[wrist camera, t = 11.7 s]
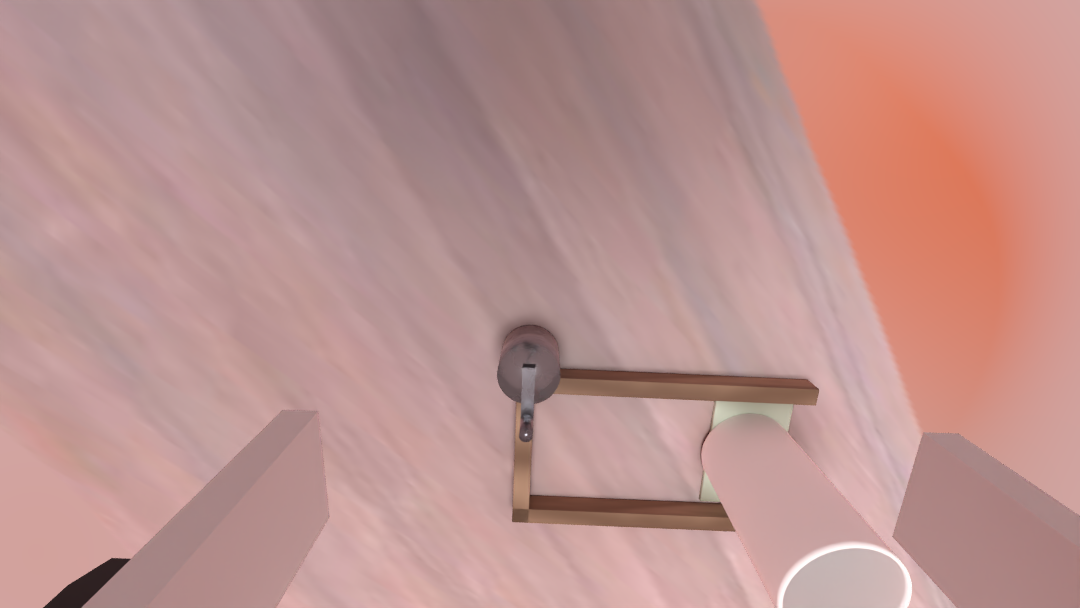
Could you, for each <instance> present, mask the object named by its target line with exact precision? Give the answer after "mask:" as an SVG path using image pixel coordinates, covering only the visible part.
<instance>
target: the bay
mask: <svg viewBox="0 0 1080 608" xmlns="http://www.w3.org/2000/svg"><path fill="white" fill-rule="evenodd" d="M818 393H819V389H818V388H817V387H815V386H814V385H813V384H812V383H811V382H810V381H808V380H803V379H780V378H758V377H736V376H713V375H691V374H668V373H646V372H624V371H601V370H579V369H560V382H559V385H558V387H557V389H556V391H555V392H554V393H553V394H570V395H592V396H615V397H638V398H660V399H683V400H705V401H715V402H714V408H713V415H712V421H711V427H710V432H711V431H712V430H713V429H714V428H715V427H716V426H717V425H718V424H720V423H721V422H723V421H724V420H726V419H728V418H730V417H733V416H736V415H740V414H760V415H764V416H767V417H770V418H772V419H774V420H775V421H777V422H778V423H779V424H780V425H781V426H782V427H783V428H784V429H785V430H786V431H787V433H788V429H789V424H790V419H791V414H792V410H793V405H794V404H796V405H816V402H817V398H818ZM520 419H521V403H519V402H516V430H515V459H514V487H513V515H512V522H524V523H548V524H571V525H595V526H618V527H642V528H665V529H689V530H712V531H735V529H734V527H733V525H732V523H731V521H730V519H729V517H728V515H727V513H726V511H725V509H724V507H723V505H722V504H720V503H697V502H673V501H650V500H627V499H604V498H580V497H557V496H534V495H529V493H530V472H531V450H532V439H531V441H529V442H522V441H521V440H520V438H519V431H520ZM699 499H700V501H713V502H721V501H720V499H719V498H718V496H717V494H716V492H715V490H714V488H713V486H712V484H711V482H710V480H709V478H708V476H707V474H706V472H705V470H703V477H702V483H701V489H700V495H699Z"/></svg>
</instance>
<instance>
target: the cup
mask: <svg viewBox="0 0 1080 608" xmlns="http://www.w3.org/2000/svg"><path fill="white" fill-rule="evenodd" d="M701 460H702V465H703V468H704V470H705V472H706V474H707V476H708V478H709V480H710V482H711V484H712V486H713V488H714V490H715V492H716V494H717V496H718V498H719V499H720V501H721V503H722V505H723V507H724V509H725V511H726V513H727V515H728V517H729V519H730V521H731V523H732V525H733V527H734V529H735V531H736V533H737V534H738V536H739V538H740V540H741V542H742V544H743V546H744V548H745V550H746V552H747V554H748V556H749V558H750V560H751V562H752V564H753V566H754V568H755V569H756V571H757V573H758V575H759V577H760V579H761V581H762V583H763V585H764V587H765V589H766V591H767V593H768V595H769V597H770V599H771V601H772V602H773V604H774V606H775V608H907V607H908V605H909V602H910V599H911V594H912V583H911V578H910V575H909V573H908V571H907V569H906V568H905V566H904V565H903V563H902V562H901V561H900V559H899V558H898V557H897V556H896V555H895V553H894V552H893V551H892V550H891V549H890V548H889V547H888V546H887V544H886V543H885V542H884V541H883V540H882V539H881V538H880V536H879V535H878V534H877V533H876V532H875V531H874V530H873V529H872V527H871V526H870V525H869V524H868V523H867V522H866V521H865V519H864V518H863V517H862V516H861V515H860V514H859V513H858V512H857V510H856V509H855V508H854V507H853V506H852V505H851V504H850V503H849V501H848V500H847V499H846V498H845V497H844V496H843V495H842V494H841V492H840V491H839V490H838V489H837V488H836V487H835V486H834V484H833V483H832V482H831V481H830V480H829V479H828V478H827V477H826V475H825V474H824V473H823V472H822V471H821V470H820V469H819V468H818V466H817V465H816V464H815V463H814V462H813V461H812V460H811V459H810V457H809V456H808V455H807V454H806V453H805V452H804V451H803V450H802V448H801V447H800V446H799V445H798V444H797V443H796V442H795V440H794V439H793V438H792V437H791V436H790V435H789V434H788V433H787V431H786V430H785V429H784V428H783V427H782V426H781V425H780V424H779V423H778V422H777V421H775V420H774V419H772V418H770V417H767V416H764V415H760V414H740V415H736V416H733V417H730V418H728V419H726V420H724V421H723V422H721V423H720V424H718V425H717V426H716V427H715V428H714V429H713V430H712V431H711V432H710V433H709V435H708V436H707V438H706V439H705V442H704V444H703V447H702V452H701Z"/></svg>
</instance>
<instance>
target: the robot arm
mask: <svg viewBox="0 0 1080 608" xmlns="http://www.w3.org/2000/svg"><path fill="white" fill-rule="evenodd" d="M329 517H330V516H329V507H328V498H327V488H326V479H325V469H324V460H323V451H322V441H321V432H320V422H319V413H318V411H301V410H282V411H281V412H280V413H279V414H278V415H277V416H276V417H275V418H274V419H273V420H272V421H271V422H270V423H269V424H268V425H267V426H266V427H265V428H264V429H263V430H262V431H261V432H260V433H259V434H258V435H257V436H256V437H255V438H254V439H253V440H252V441H251V442H250V443H249V444H248V445H247V446H246V447H245V448H244V449H243V450H241V451H240V452H239V453H238V454H237V455H236V456H235V457H234V458H233V459H232V460H231V461H230V462H229V463H228V464H227V465H226V466H225V467H224V468H223V469H222V470H221V471H220V472H219V473H218V474H217V475H216V476H215V477H214V478H213V479H212V480H211V481H210V482H209V483H208V484H207V485H206V486H205V487H204V488H203V489H202V490H201V491H200V492H199V493H198V494H197V495H196V496H195V497H194V498H193V499H192V500H191V501H190V502H189V503H188V504H186V505H185V506H184V507H183V508H182V509H181V510H180V511H179V512H178V513H177V514H176V515H175V516H174V517H173V518H172V519H171V520H170V521H169V522H168V523H167V524H166V525H165V526H164V527H163V528H162V529H161V530H160V531H159V532H158V533H157V534H156V535H155V536H154V537H153V538H152V539H151V540H150V541H149V542H148V543H147V544H146V545H145V546H144V547H143V548H142V549H141V550H140V551H139V552H138V553H137V554H136V555H135V556H134V557H133V558H131V559H118V558H111V559H110V560H108V561H107V562H105V563H103V564H102V565H100V566H98V567H97V568H95V569H94V570H92V571H90V572H89V573H87V574H86V575H84V576H82V577H81V578H79V579H78V580H76V581H74V582H72V583H71V584H69V585H68V586H67V587H66V588H64V589H63V590H62V591H61V592H60V593H59V594H58V595H57V596H56V597H55V598H53V599H52V600H51V601H50V602H49V603H48V604H47V605H46V606H45V607H43V608H276V607H277V605H278V604H279V602H280V600H281V598H282V597H283V595H284V593H285V592H286V590H287V588H288V587H289V585H290V583H291V582H292V580H293V578H294V576H295V575H296V573H297V571H298V570H299V568H300V566H301V565H302V563H303V561H304V559H305V558H306V556H307V554H308V553H309V551H310V549H311V548H312V546H313V544H314V543H315V541H316V539H317V537H318V536H319V534H320V532H321V531H322V529H323V527H324V526H325V524H326V522H327V521H328V519H329ZM892 537H893V538H894V539H895V540H896V541H897V542H898V543H899V544H900V545H901V546H902V548H903V549H904V550H905V551H906V552H907V553H908V554H909V555H910V556H911V557H912V559H913V560H914V561H915V562H916V563H917V564H918V565H919V566H920V567H921V568H922V570H923V571H924V572H925V573H926V574H927V575H928V576H929V577H930V578H931V579H932V581H933V582H934V583H935V584H936V585H937V586H938V587H939V588H940V589H941V590H942V592H943V593H944V594H945V595H946V596H947V597H948V598H949V599H950V600H951V601H952V603H953V604H954V605H955V606H956V607H957V608H1080V516H1079V515H1078V514H1076V513H1075V512H1073V511H1072V510H1070V509H1069V508H1067V507H1066V506H1065V505H1063V504H1062V503H1060V502H1059V501H1057V500H1056V499H1054V498H1053V497H1051V496H1050V495H1048V494H1047V493H1045V492H1044V491H1042V490H1041V489H1039V488H1038V487H1036V486H1035V485H1033V484H1032V483H1031V482H1029V481H1027V480H1026V479H1025V478H1023V477H1022V476H1020V475H1019V474H1017V473H1016V472H1014V471H1013V470H1011V469H1010V468H1008V467H1007V466H1005V465H1004V464H1002V463H1001V462H999V461H998V460H997V459H995V458H994V457H992V456H990V455H989V454H988V453H986V452H985V451H983V450H982V449H980V448H979V447H977V446H976V445H974V444H973V443H971V442H970V441H968V440H967V439H965V438H964V437H963V436H961V435H960V434H952V433H925V432H923V435H922V438H921V442H920V445H919V448H918V452H917V455H916V458H915V462H914V465H913V469H912V472H911V475H910V479H909V482H908V486H907V489H906V492H905V496H904V499H903V503H902V506H901V509H900V513H899V516H898V520H897V523H896V526H895V530H894V533H893V536H892Z"/></svg>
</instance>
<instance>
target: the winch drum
mask: <svg viewBox="0 0 1080 608" xmlns="http://www.w3.org/2000/svg"><path fill="white" fill-rule="evenodd" d="M497 379H498V383H499V386H500V388H501V389H502V391H503V392H504V393H505V394H506V395H507V396H508V397H509V398H511V399H512V400H514V401H516V402H519V403H521V419H520V431H519V438H520V440H521V441H522V442H529V441H531V439H532V434H533V411H534V404H535V403H539V402H542V401H544V400H546V399H548V398H549V397H550V396H551V395H552V394H553V393H554V392H555V391H556V389H557V387H558V385H559V382H560V363H559V350H558V345H557V342H556V340H555V338H554V337H553V335H552V334H551V333H550V332H549V331H547V330H546V329H544V328H542V327H539V326H535V325H525V326H521V327H518V328H516V329H515V330H513V331H512V332H511V333H510V334H509V335H508V336H507V337H506V339H505V341H504V343H503V347H502V352H501V357H500V361H499V366H498V371H497Z"/></svg>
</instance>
